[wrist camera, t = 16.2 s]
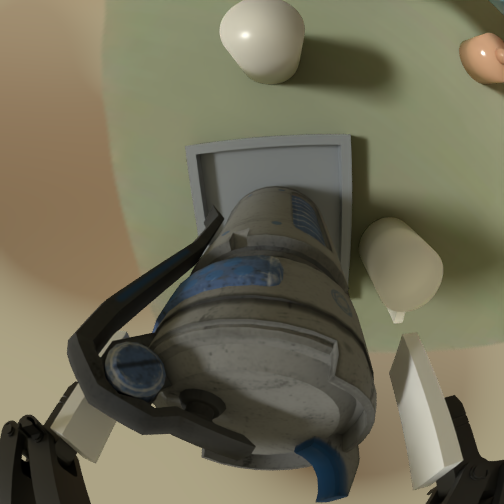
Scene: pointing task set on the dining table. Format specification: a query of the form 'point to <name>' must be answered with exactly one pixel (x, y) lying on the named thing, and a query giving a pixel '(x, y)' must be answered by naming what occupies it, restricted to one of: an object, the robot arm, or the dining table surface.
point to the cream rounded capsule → (264, 39)
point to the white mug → (400, 266)
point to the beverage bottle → (242, 347)
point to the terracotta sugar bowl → (483, 58)
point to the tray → (276, 177)
